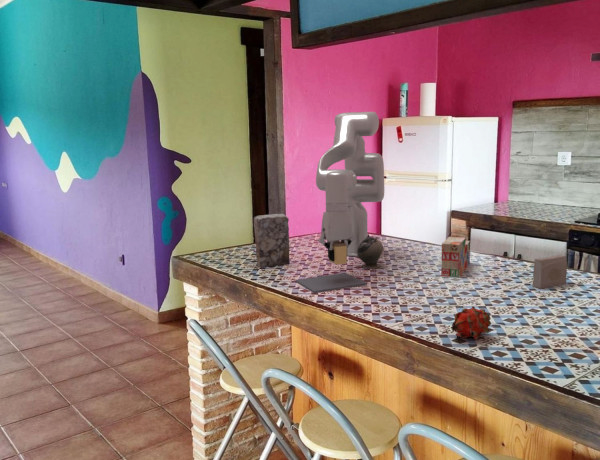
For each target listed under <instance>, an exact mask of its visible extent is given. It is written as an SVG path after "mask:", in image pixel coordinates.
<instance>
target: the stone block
mask: <svg viewBox="0 0 600 460" xmlns="http://www.w3.org/2000/svg"><path fill="white" fill-rule="evenodd" d="M289 220H290V219H289V217H288V216H287V215H285V214H284V213H273V214H264V215H263V214H261V215H256V216H254V217H253V230H254V239H255V255H256V256H255V257H256V265H257V266H258V267H260V268H267V267H274V266H275V267H276V266H281V265H287V264H288V265H289V264H290V239H289V238H290V233H289V231H290V229H289V227H290V226H289Z"/></svg>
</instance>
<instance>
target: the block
mask: <svg viewBox="0 0 600 460" xmlns="http://www.w3.org/2000/svg"><path fill="white" fill-rule="evenodd" d="M333 250H334V261H330V260H329V259H328V262H329V263H332V264H334V265H336V266H337V265H344V264H347V262H348V256H347V245H346V243H344V242H341V240H340V241H334V244H333Z"/></svg>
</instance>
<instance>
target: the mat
mask: <svg viewBox="0 0 600 460" xmlns="http://www.w3.org/2000/svg"><path fill="white" fill-rule="evenodd" d="M294 281H295V283H297V284H299V285H300V286H302V287H303V288H305V289H307V290H308V291H310V292H311V293H313V294H315V293H323V292H329V291H336V290H343V289H348V288H357V287H363V286H368V283H367V282H365V281H363V280H361V279H359V278H357V277H356V276H353V275H351V274H349V273H347V272H342V273H334V274H328V275H321V276H313V277H307V278H299V279H295V280H294Z"/></svg>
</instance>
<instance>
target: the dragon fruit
mask: <svg viewBox="0 0 600 460" xmlns="http://www.w3.org/2000/svg"><path fill="white" fill-rule="evenodd" d="M491 325H492V323H491V315H490V313H488V312H486V309H485V308H484V309H483V308H480V309H477V308H476V307H475V306H473V305H471V309H469V308H465V307H464V308H463V309H462V310H461V311H460V312H457V313H455V315H454V320H453V323H452V325H451V330H452V331H453V332H455V333H456V334H455V335H456V338H457V339H458V338H461V339H467V338H469V337H473V339H474V340H475V341H476V340H478V339H479V338H481V337H482V336H483V334H489V333H490V331H491V330H492V328H489V327H490V326H491Z"/></svg>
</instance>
